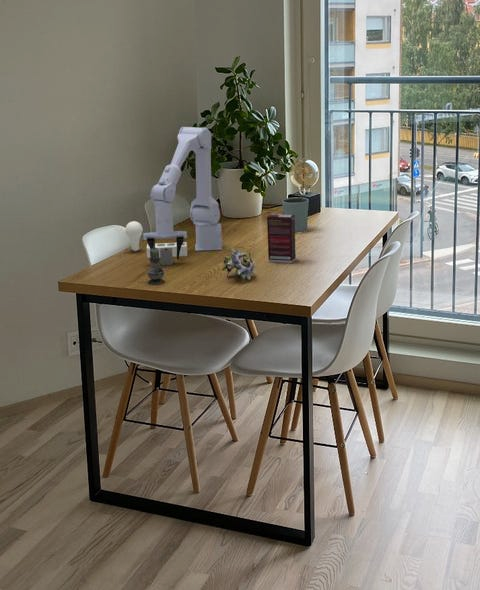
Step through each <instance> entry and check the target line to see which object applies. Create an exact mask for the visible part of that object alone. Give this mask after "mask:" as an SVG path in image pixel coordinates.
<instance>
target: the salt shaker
mask: <svg viewBox="0 0 480 590" xmlns="http://www.w3.org/2000/svg"><path fill="white" fill-rule="evenodd" d="M148 259H149V263H150V267H149V269H147V270H146V274H147V276H148V278H149V280H148V281H147V283H148V284H149V283H150V284H149V285H160V284H161V285H162V284H164V283H165V282H166V281H165V280H164V279H163V277H164V275H165V272H166V271H165V269H164V268H161V259H160V257H159V250H158V249H157V248H155V246H153V248H152V249H151V250H150V258H148Z"/></svg>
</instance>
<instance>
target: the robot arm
mask: <svg viewBox="0 0 480 590" xmlns="http://www.w3.org/2000/svg"><path fill="white" fill-rule="evenodd" d="M177 143H178V144H177V145H176V149H175V151H174V153H173V158H172V160H171V162H170V164H167V165H166V166H165V167H164V168H163V169H164V170H163V171H162V174H161V176H160V178H159V180H158V182H157V183H156V184H155V185H153V186H152V188H151V190H150V193H149V194H150V195H149V196H150V198H151V200H152V205H153V207H154V211H155V212H154V213H155V229H156V231H152V232H143V233H142V235H143V236H142V237H143V241H146V243H147V244H148V245H149V247H150V249H152V248H153V246H155V244H156V240H161V239H176V241H175V243H177V257H176V260H180V256H179V253H180V249H181V246H182V244H183V242H185V241H184V239H187V238H188V233H187V231H186V230H184V231H183V230H174V217H173V201H174V200H175V197H176V190H177V187H176V186H177V185H178V184H177V183H178V182H179V180H180V177H181V175H182V170H181V167H182V166H183V165H184V164H183V163H185V160H186V159H187V157H188V156H189V153H190V152H191V151H193V153H194V154H195V181H196V183H195V185H196V186H195V187H196V188H195V191H196V194H195V195H196V198H194V199H193V200H192V201H191V202H190V203H191V205H190V206H191V207H190V211H189V217H190V220H191V221H192V222H193V225H195V242H196V243H195V244H194V247H195V251H196V252H200V251H201V252H202V251H220V250H223V243H224V242H223V238H222V236H223V235H222V223H219V220H220V218H221V211H220V207H219V202H218V201H217V200H216V199H214V197H213V196H212V165H211V163H212V161H211V160H212V158H211V157H212V156H211V153H212V152H211V150H212V132H211V131H210V130H209V129H208V128H207V127H205V126H204V127H194V126H182V127H181V128H180V129H179V131H178V135H177Z"/></svg>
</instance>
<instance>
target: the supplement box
mask: <svg viewBox="0 0 480 590" xmlns="http://www.w3.org/2000/svg"><path fill="white" fill-rule="evenodd" d="M266 225H267V247H268V248H267V253H268V254H267V255H268V256H267V257H268V258H267V259H268V262H269V263H286V264H287V263H288V264H293V263H294V262H295V261H296V259H297V257H296V254H297V253H296V233H295V215H294V214H284V213H269V214H268V215H267V216H266Z"/></svg>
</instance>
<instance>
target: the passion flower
mask: <svg viewBox="0 0 480 590" xmlns="http://www.w3.org/2000/svg"><path fill="white" fill-rule="evenodd" d="M230 251H231V254H232V255H231V256H225V258H224V260H223V263H224V265H225V266H223V268H222V271H225V270H226V277H227V278H228V277H229V273H230V272H232V270H233V269H235V270H234V273H235V275H236V276H239V277H240V279H242V280H246V281H251V279H252V278H251V274H252V275H255V274H256V271H255V268H256V265H255V260H253V257H252V255H251V252H248V253H247V252H246V251H243V252H242V250H241V249H239V250H237V251H236V250H235V249H234V248H233V247H231V248H230ZM230 257H231V258H230Z"/></svg>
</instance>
